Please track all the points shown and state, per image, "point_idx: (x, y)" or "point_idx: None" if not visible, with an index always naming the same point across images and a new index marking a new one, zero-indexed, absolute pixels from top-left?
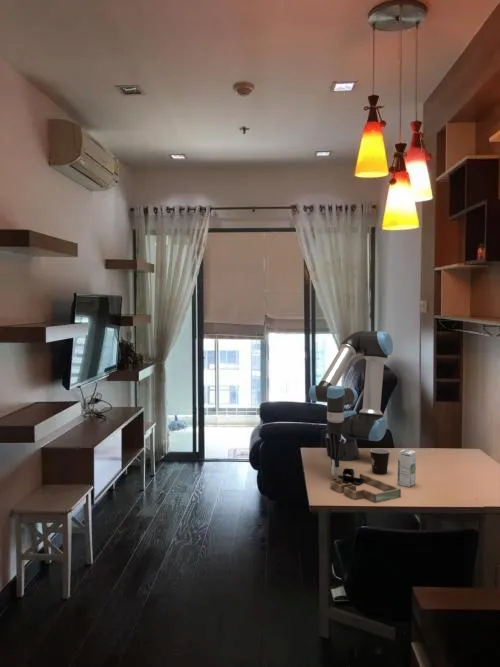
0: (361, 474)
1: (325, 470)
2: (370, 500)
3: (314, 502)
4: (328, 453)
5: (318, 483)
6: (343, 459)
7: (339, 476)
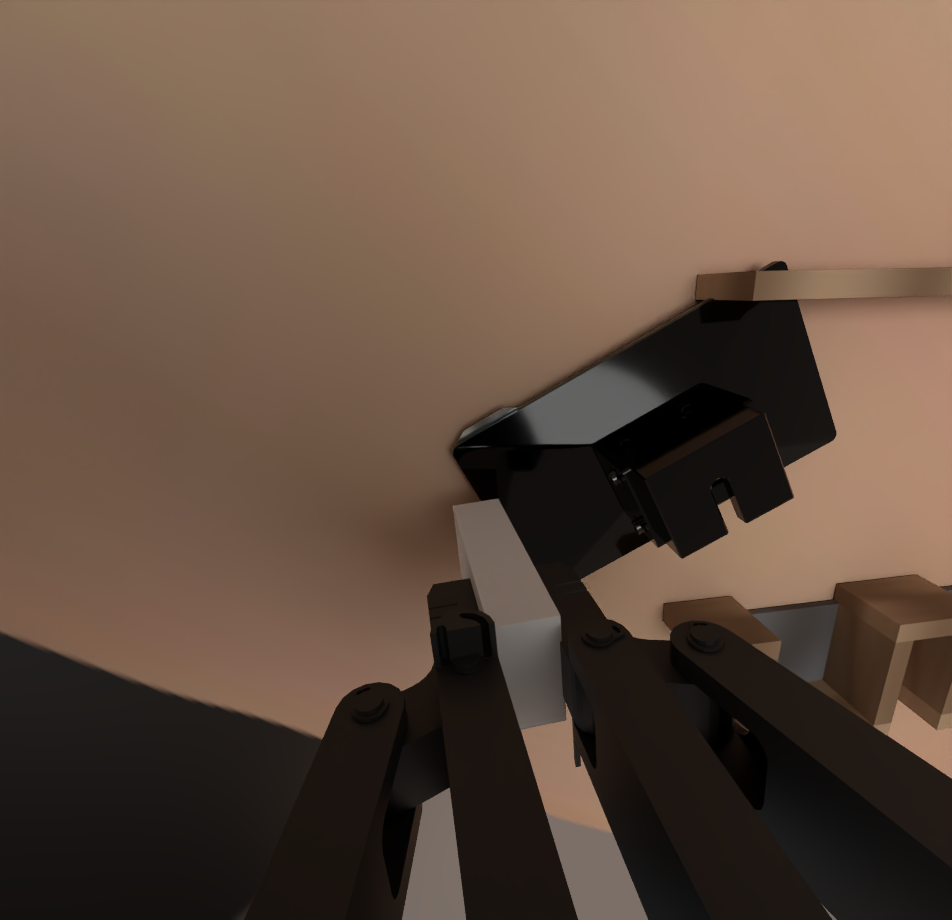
0: (789, 297)
1: (101, 444)
2: None
3: None
4: (393, 850)
5: (530, 738)
6: None
7: (515, 485)
